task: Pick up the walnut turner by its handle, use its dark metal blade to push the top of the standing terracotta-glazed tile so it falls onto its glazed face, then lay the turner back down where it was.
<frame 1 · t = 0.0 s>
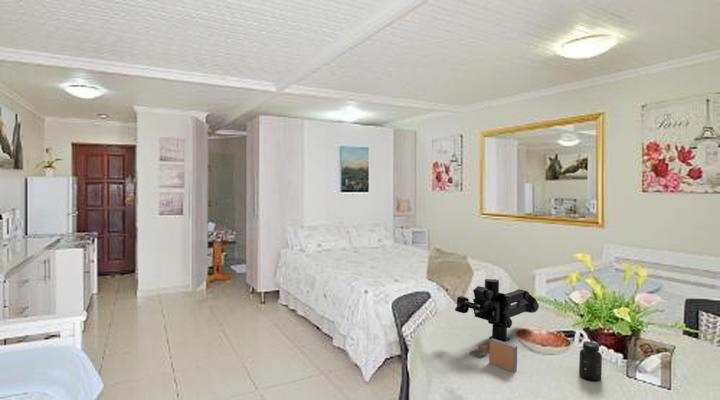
hand: (465, 312, 164), 17 cm above the table, tool horizontal, fingers open, 9 cm apart
turner: (485, 352, 167), on the table
tile: (502, 366, 153), on the table
supplement bottle: (589, 378, 145), on the table
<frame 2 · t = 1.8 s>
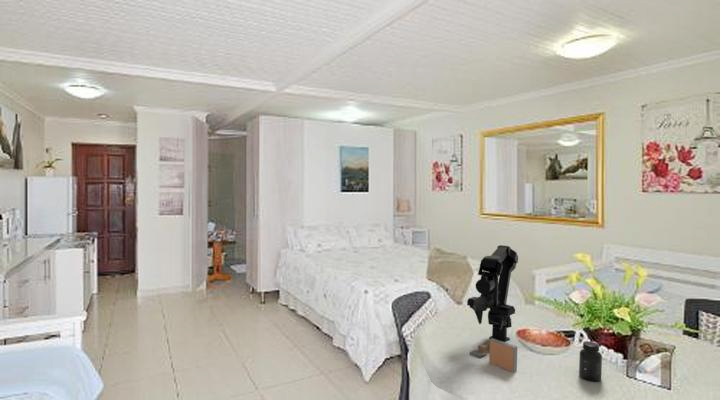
hand: (489, 326, 168), 9 cm above the table, tool pointing down, fingers open, 9 cm apart
nothing on the table moved.
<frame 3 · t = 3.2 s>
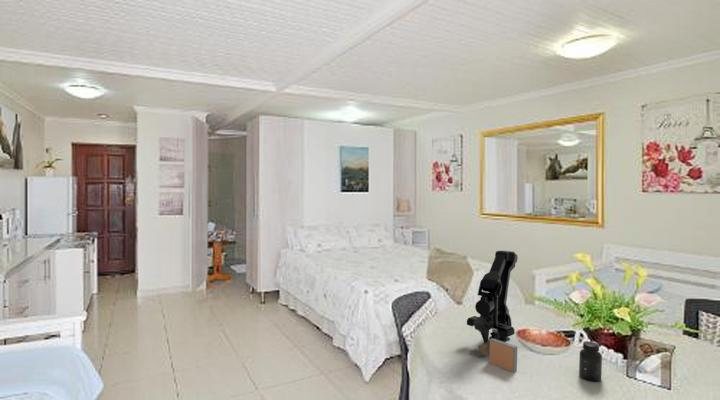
hand: (489, 346, 169), 1 cm above the table, tool pointing down, fingers closed on turner, 3 cm apart
turner: (485, 351, 167), on the table, touching gripper
everything else where it was.
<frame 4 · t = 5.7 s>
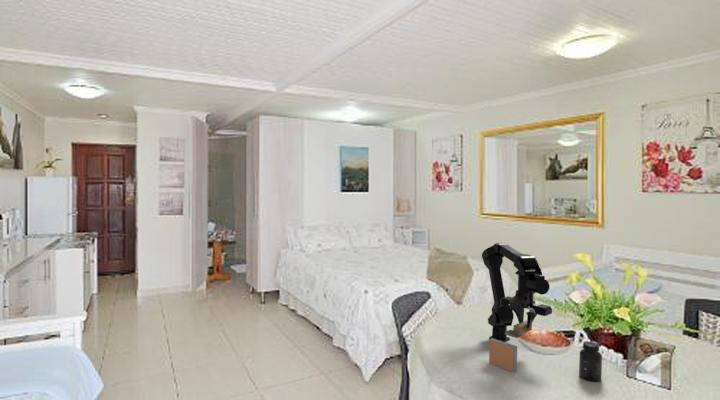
hand: (524, 327, 163), 11 cm above the table, tool pointing down, fingers closed on turner, 3 cm apart
turner: (520, 332, 161), point 10 cm above the table, touching gripper
everything else where it was.
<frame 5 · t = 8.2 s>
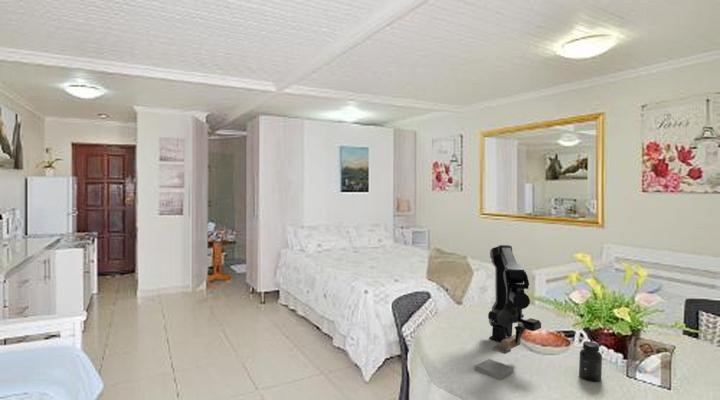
hand: (513, 342, 157), 8 cm above the table, tool pointing down, fingers closed on turner, 3 cm apart
turner: (508, 347, 155), point 6 cm above the table, touching gripper
tile: (501, 365, 152), point 1 cm above the table, tilted 90°
everything else where it was.
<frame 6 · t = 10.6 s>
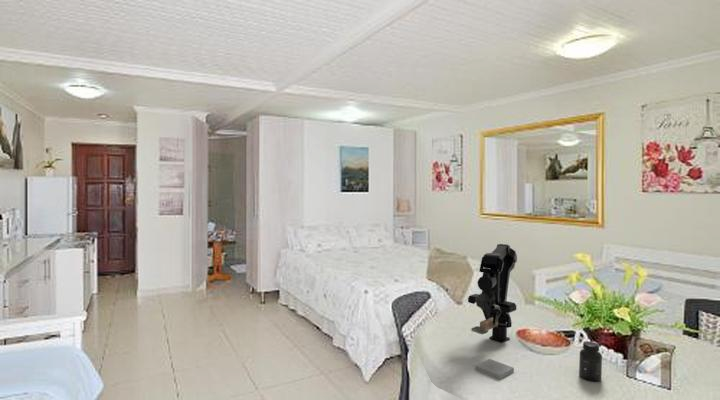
hand: (491, 323, 168), 11 cm above the table, tool pointing down, fingers closed on turner, 3 cm apart
turner: (486, 328, 166), point 10 cm above the table, touching gripper
everything else where it was.
when the fingers open (2 cm above the table, at t = 12.5 s): turner drops 1 cm, on the table.
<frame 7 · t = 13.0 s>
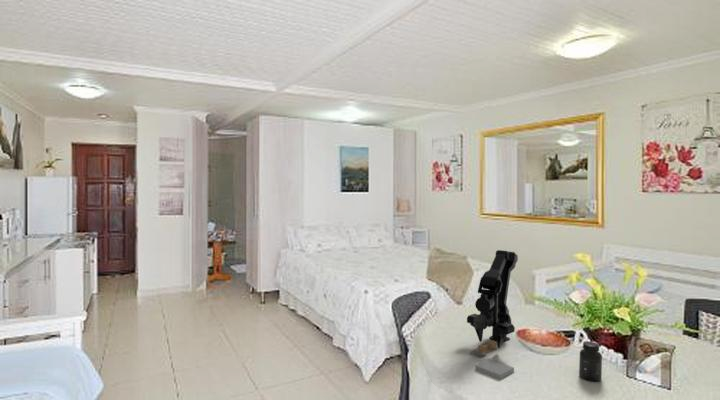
hand: (489, 344, 169), 2 cm above the table, tool pointing down, fingers open, 8 cm apart
turner: (485, 351, 167), on the table
everything else where it was.
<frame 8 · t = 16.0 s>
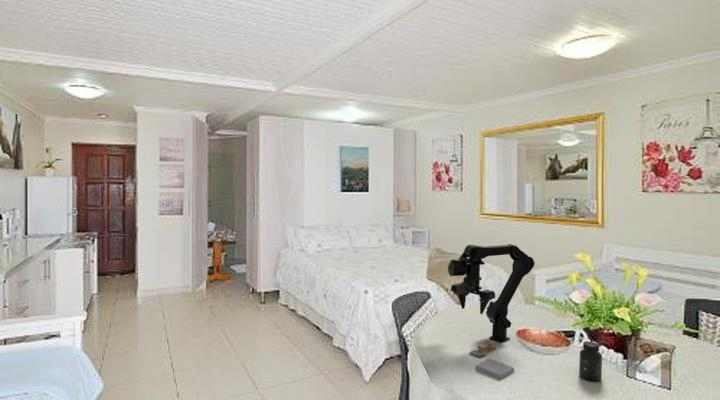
hand: (472, 311, 177), 13 cm above the table, tool pointing down, fingers open, 9 cm apart
nothing on the table moved.
at the end: tile tilted 90°; tile inside the target area (5.4 cm from its centre), point 0.6 cm above the table; turner on the table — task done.
